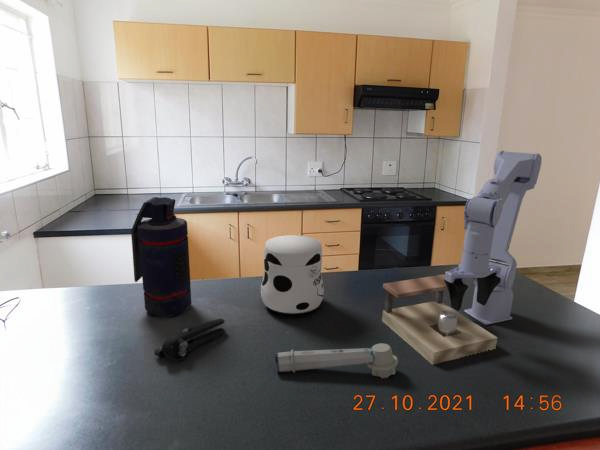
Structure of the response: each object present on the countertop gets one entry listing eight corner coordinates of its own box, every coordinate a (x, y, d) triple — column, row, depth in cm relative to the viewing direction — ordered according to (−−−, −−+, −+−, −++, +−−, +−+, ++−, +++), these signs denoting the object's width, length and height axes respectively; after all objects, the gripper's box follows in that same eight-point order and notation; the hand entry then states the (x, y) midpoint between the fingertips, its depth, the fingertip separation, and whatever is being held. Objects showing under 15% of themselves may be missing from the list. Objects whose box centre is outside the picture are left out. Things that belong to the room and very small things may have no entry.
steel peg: (450, 337, 100) (454, 311, 98) (456, 346, 96) (460, 319, 94) (433, 336, 100) (437, 310, 98) (438, 345, 96) (442, 318, 94)
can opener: (170, 371, 85) (168, 347, 83) (151, 358, 89) (149, 335, 87) (234, 336, 98) (234, 315, 96) (215, 326, 102) (214, 306, 101)
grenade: (196, 299, 116) (191, 195, 107) (184, 320, 104) (177, 205, 96) (148, 297, 116) (139, 193, 108) (130, 318, 104) (118, 204, 96)
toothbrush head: (276, 346, 87) (393, 334, 86) (280, 373, 89) (394, 362, 88) (274, 361, 82) (398, 348, 81) (278, 389, 84) (400, 377, 83)
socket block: (438, 309, 113) (443, 274, 110) (497, 348, 95) (504, 307, 92) (379, 320, 106) (383, 283, 103) (430, 365, 88) (436, 321, 85)
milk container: (335, 309, 112) (339, 247, 107) (281, 327, 102) (282, 259, 97) (300, 287, 125) (301, 230, 120) (249, 300, 116) (249, 239, 111)
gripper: (487, 242, 97) (479, 294, 101) (438, 248, 92) (431, 303, 96) (512, 251, 91) (502, 307, 95) (460, 259, 86) (452, 317, 90)
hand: (468, 306), depth 95 cm, fingers open, 7 cm apart
